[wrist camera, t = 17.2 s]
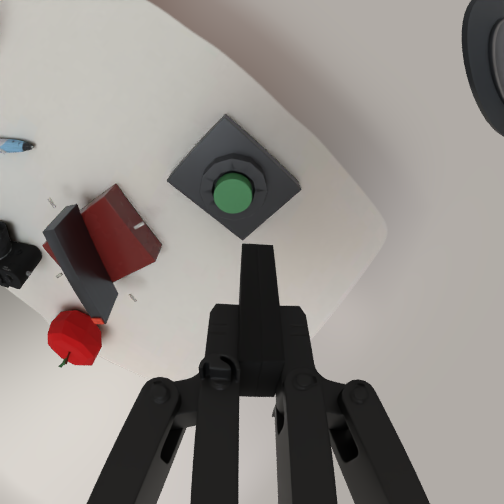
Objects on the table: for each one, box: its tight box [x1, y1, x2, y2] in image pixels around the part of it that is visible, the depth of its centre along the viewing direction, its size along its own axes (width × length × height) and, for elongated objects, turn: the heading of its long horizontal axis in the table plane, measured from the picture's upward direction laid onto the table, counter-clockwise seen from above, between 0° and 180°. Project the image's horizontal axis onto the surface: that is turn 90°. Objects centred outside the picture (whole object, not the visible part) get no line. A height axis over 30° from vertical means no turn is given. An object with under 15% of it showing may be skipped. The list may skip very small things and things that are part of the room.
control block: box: [167, 114, 301, 240], centre depth 29 cm, size 11×9×4 cm
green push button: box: [214, 173, 252, 213], centre depth 27 cm, size 4×4×2 cm
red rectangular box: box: [43, 184, 162, 302], centre depth 34 cm, size 18×18×4 cm
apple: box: [48, 310, 102, 367], centre depth 42 cm, size 11×11×10 cm
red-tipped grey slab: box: [43, 204, 118, 324], centre depth 30 cm, size 14×2×6 cm, turn 7°
